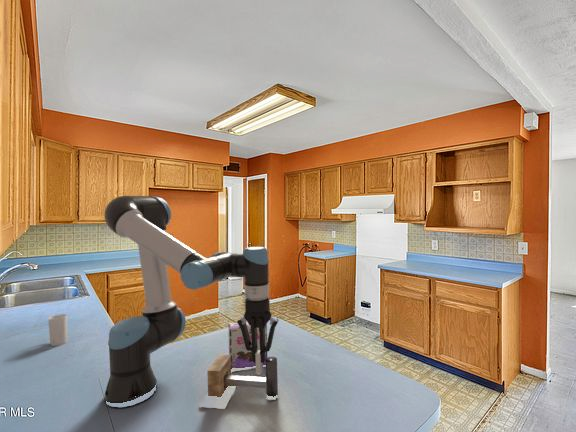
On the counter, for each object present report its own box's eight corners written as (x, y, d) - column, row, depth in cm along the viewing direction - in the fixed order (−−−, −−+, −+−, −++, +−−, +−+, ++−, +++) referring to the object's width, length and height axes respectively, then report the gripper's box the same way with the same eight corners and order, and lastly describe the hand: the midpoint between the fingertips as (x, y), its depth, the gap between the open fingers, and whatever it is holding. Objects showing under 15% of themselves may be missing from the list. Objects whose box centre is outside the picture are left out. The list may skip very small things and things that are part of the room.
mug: (71, 341, 143) (70, 315, 143) (55, 347, 137) (53, 320, 137) (58, 337, 147) (57, 312, 147) (42, 343, 141) (41, 317, 141)
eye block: (199, 407, 94) (198, 373, 93) (216, 381, 107) (216, 351, 107) (224, 409, 92) (223, 375, 92) (239, 383, 106) (238, 352, 106)
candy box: (230, 373, 112) (229, 328, 112) (229, 365, 118) (227, 322, 118) (268, 367, 116) (267, 323, 116) (265, 360, 122) (263, 318, 121)
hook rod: (214, 396, 98) (213, 359, 98) (219, 390, 102) (217, 353, 101) (276, 401, 95) (275, 362, 95) (278, 394, 99) (278, 357, 98)
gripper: (232, 300, 94) (235, 377, 95) (275, 301, 92) (277, 380, 93) (240, 293, 102) (242, 365, 102) (280, 294, 100) (282, 367, 100)
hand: (259, 372), depth 98 cm, fingers closed
